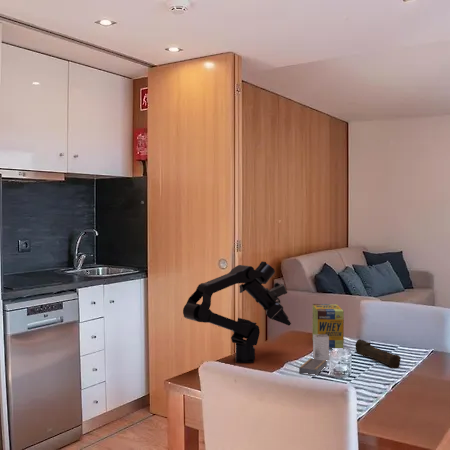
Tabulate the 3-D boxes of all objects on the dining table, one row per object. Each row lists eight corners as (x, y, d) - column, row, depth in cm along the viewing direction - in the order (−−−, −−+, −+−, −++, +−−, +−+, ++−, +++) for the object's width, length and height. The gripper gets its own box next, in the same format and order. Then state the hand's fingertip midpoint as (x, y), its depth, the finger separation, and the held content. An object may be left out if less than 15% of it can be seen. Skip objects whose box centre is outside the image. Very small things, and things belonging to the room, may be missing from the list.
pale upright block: (328, 361, 190) (328, 336, 190) (315, 361, 190) (315, 336, 190) (326, 358, 194) (326, 334, 194) (313, 358, 194) (313, 334, 194)
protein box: (317, 350, 206) (317, 310, 206) (312, 340, 221) (312, 303, 221) (344, 350, 206) (344, 310, 205) (337, 340, 221) (337, 303, 221)
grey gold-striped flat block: (316, 376, 174) (316, 369, 174) (299, 373, 176) (299, 366, 176) (326, 366, 184) (326, 359, 184) (310, 364, 187) (310, 357, 187)
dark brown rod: (401, 368, 183) (401, 352, 183) (390, 369, 181) (390, 353, 181) (363, 351, 204) (363, 337, 204) (352, 352, 203) (352, 338, 203)
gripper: (275, 280, 184) (307, 311, 184) (272, 273, 203) (301, 301, 203) (253, 303, 185) (285, 333, 185) (252, 294, 203) (280, 322, 204)
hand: (288, 321), depth 194 cm, fingers open, 9 cm apart
